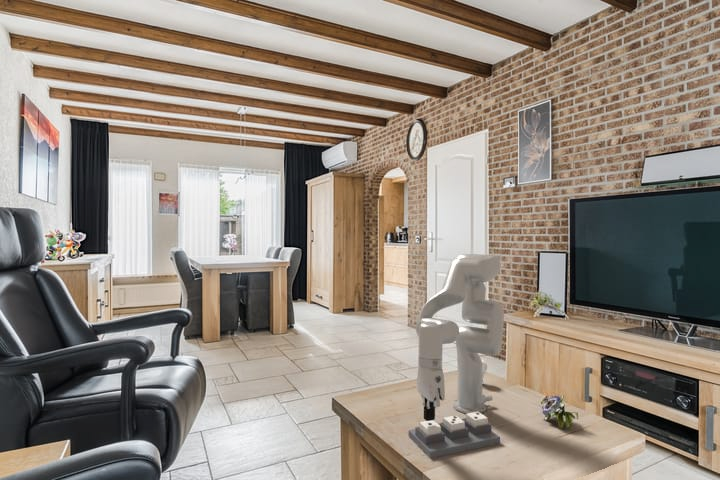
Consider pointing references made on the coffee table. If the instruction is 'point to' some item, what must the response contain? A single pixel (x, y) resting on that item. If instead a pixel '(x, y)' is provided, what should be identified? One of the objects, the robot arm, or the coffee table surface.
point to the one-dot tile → (429, 427)
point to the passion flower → (557, 410)
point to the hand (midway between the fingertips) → (429, 419)
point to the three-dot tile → (453, 423)
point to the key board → (454, 439)
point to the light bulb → (484, 368)
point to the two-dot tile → (476, 419)
